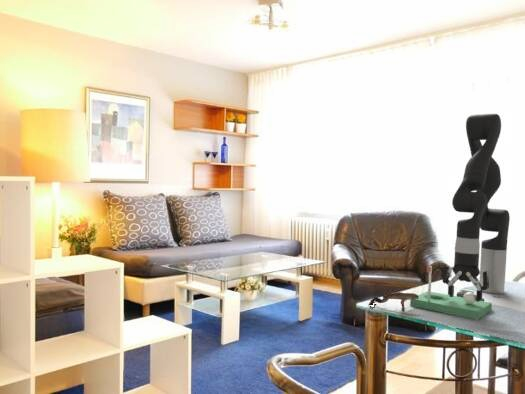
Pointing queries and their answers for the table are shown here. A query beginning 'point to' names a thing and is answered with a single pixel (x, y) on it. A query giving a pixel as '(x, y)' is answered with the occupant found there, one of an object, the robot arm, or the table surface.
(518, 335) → the table surface
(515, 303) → the table surface
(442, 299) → the green
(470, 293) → the ball
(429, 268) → the pin
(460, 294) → the rock
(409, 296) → the toy
